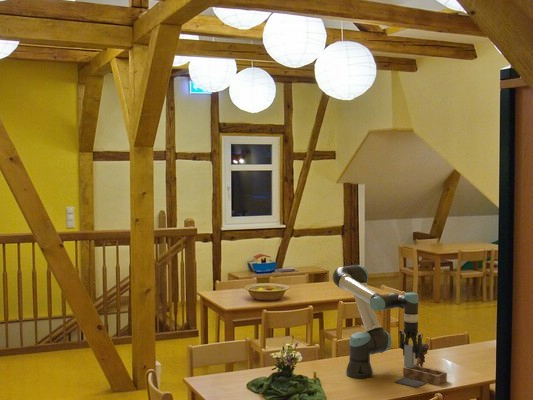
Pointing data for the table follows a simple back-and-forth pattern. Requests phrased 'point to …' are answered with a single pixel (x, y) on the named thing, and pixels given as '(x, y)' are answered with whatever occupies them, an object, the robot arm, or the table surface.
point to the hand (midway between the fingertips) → (410, 362)
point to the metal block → (409, 355)
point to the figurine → (422, 355)
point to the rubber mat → (410, 382)
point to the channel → (425, 374)
